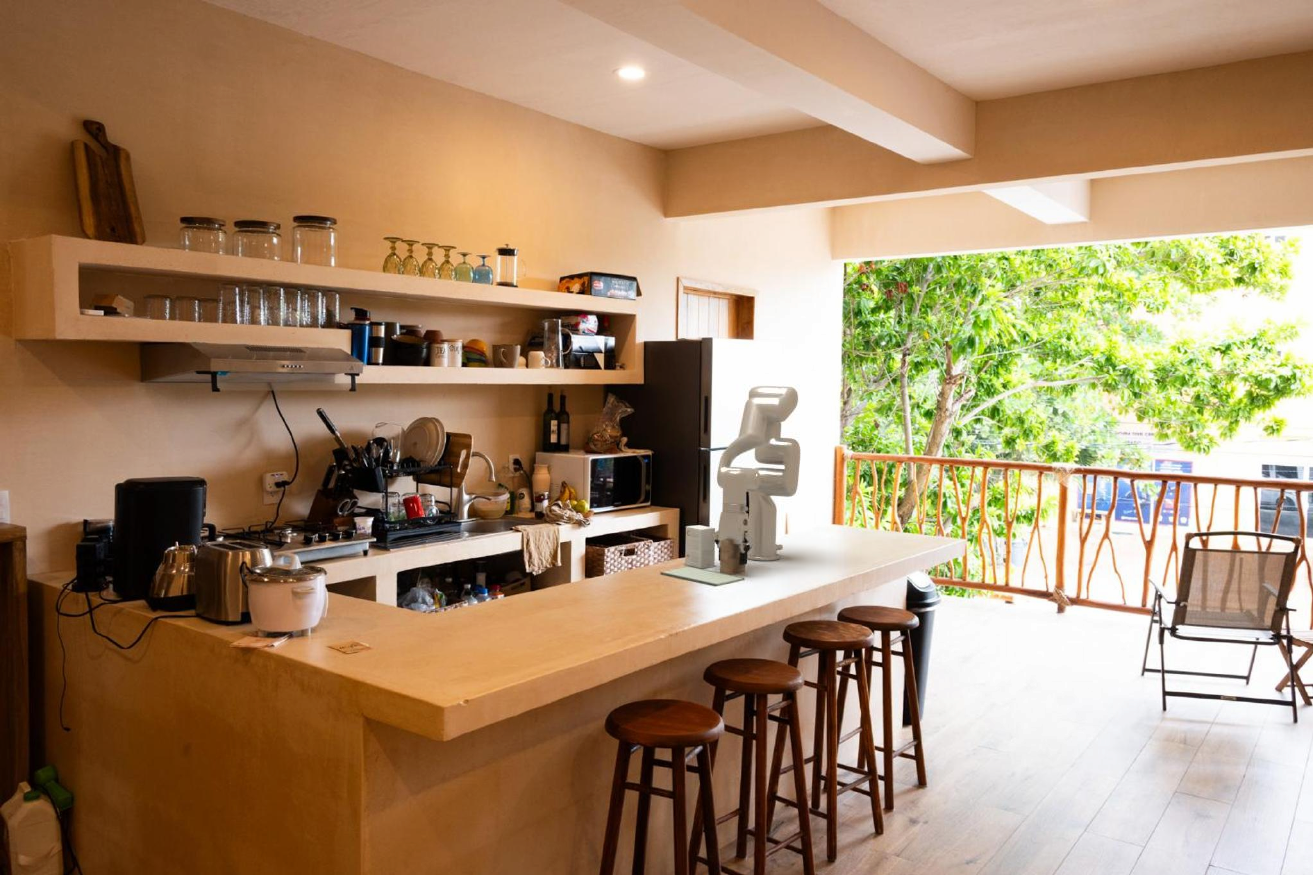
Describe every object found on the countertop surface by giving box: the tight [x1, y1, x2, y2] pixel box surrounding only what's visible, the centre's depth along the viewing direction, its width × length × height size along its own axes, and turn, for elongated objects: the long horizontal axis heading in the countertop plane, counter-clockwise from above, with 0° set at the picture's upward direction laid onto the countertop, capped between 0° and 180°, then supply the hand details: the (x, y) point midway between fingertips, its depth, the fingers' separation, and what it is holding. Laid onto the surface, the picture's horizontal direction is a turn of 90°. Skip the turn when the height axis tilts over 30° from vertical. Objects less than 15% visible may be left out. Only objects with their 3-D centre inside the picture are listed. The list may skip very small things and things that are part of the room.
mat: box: [659, 566, 745, 587], centre depth 304 cm, size 14×23×1 cm, turn 46°
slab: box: [719, 540, 746, 576], centre depth 310 cm, size 9×3×11 cm, turn 136°
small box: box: [684, 524, 716, 569], centre depth 321 cm, size 8×6×13 cm
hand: (732, 562), depth 310 cm, fingers open, 8 cm apart
